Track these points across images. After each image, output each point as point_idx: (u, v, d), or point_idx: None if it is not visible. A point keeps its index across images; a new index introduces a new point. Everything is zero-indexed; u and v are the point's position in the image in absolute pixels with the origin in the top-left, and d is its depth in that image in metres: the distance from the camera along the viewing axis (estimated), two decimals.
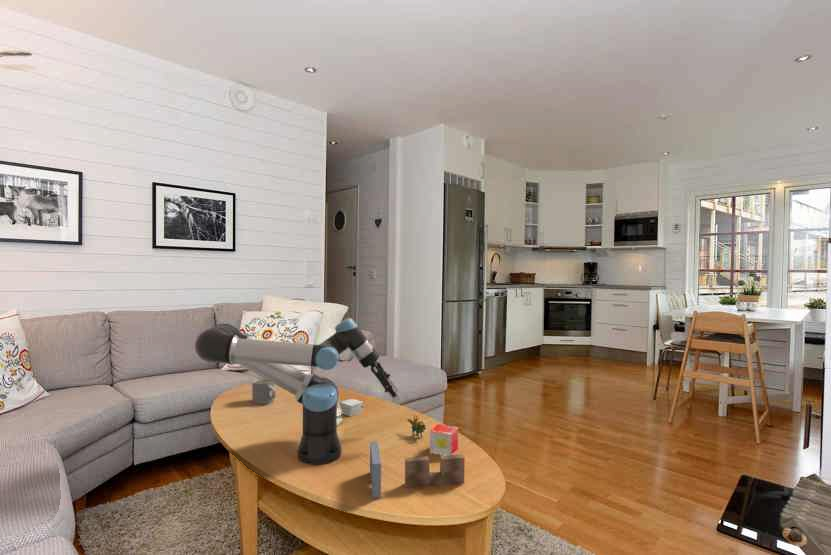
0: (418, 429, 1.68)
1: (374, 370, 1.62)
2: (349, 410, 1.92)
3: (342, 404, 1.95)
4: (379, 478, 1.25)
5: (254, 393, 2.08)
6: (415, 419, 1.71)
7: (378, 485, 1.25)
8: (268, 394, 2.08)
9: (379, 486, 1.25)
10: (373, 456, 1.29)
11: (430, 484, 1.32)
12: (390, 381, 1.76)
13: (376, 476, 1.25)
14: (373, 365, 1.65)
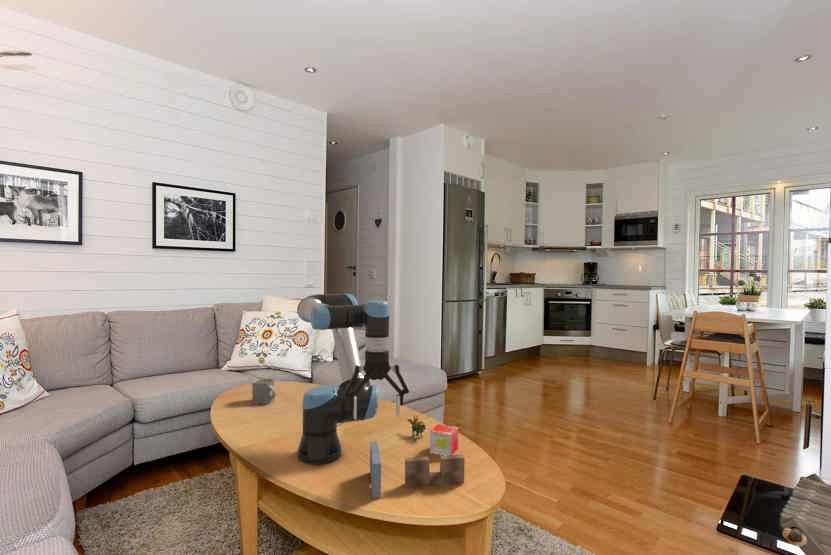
0: (418, 429, 1.68)
1: (355, 367, 1.37)
2: None
3: None
4: (379, 478, 1.25)
5: (254, 393, 2.08)
6: (415, 419, 1.71)
7: (378, 485, 1.25)
8: (268, 394, 2.08)
9: (379, 486, 1.25)
10: (373, 456, 1.29)
11: (430, 484, 1.32)
12: (397, 400, 1.39)
13: (376, 476, 1.25)
14: (365, 364, 1.37)
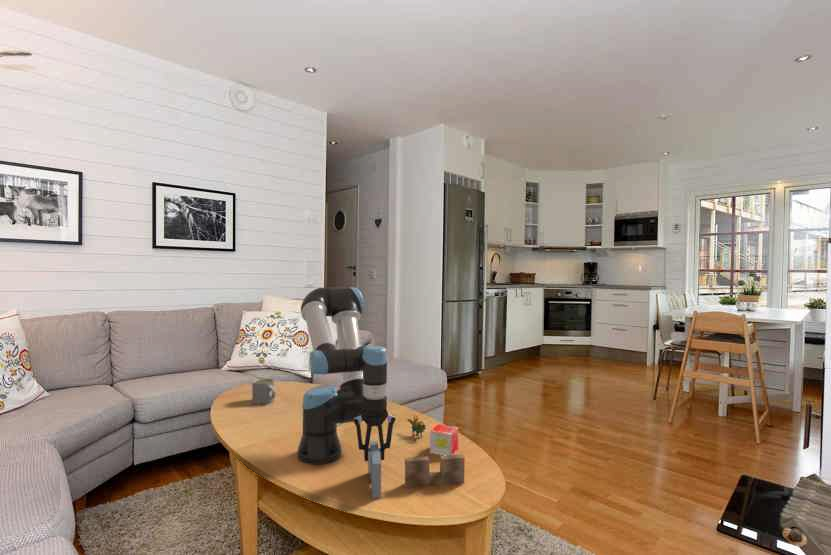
0: (418, 429, 1.68)
1: None
2: None
3: None
4: (379, 478, 1.25)
5: (254, 393, 2.08)
6: (415, 419, 1.71)
7: (378, 485, 1.25)
8: (268, 394, 2.08)
9: (379, 486, 1.25)
10: (373, 456, 1.29)
11: (430, 484, 1.32)
12: None
13: (376, 476, 1.25)
14: (360, 412, 1.37)
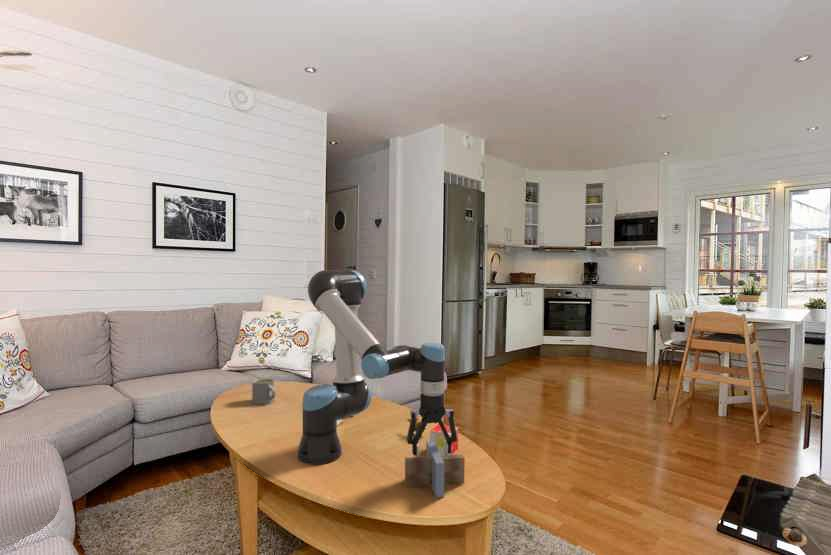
0: None
1: None
2: None
3: None
4: (442, 477, 1.26)
5: (254, 393, 2.08)
6: None
7: (441, 484, 1.26)
8: (268, 394, 2.08)
9: (442, 485, 1.26)
10: (434, 456, 1.30)
11: (430, 484, 1.32)
12: (445, 448, 1.38)
13: (439, 475, 1.26)
14: None
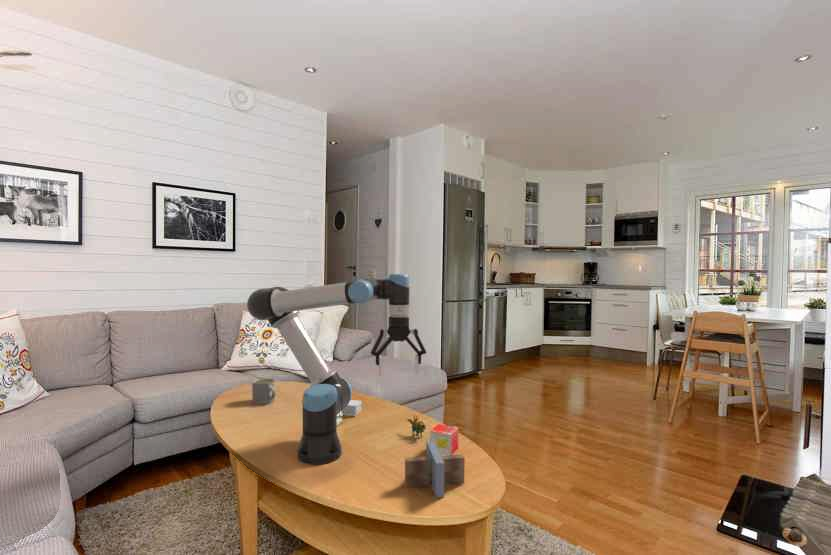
0: (418, 429, 1.68)
1: (380, 331, 1.60)
2: (354, 410, 1.92)
3: None
4: (442, 477, 1.26)
5: (254, 393, 2.08)
6: (415, 419, 1.71)
7: (441, 484, 1.26)
8: (268, 394, 2.08)
9: (442, 485, 1.26)
10: (434, 456, 1.30)
11: (430, 484, 1.32)
12: (416, 359, 1.61)
13: (439, 475, 1.26)
14: (388, 328, 1.60)
